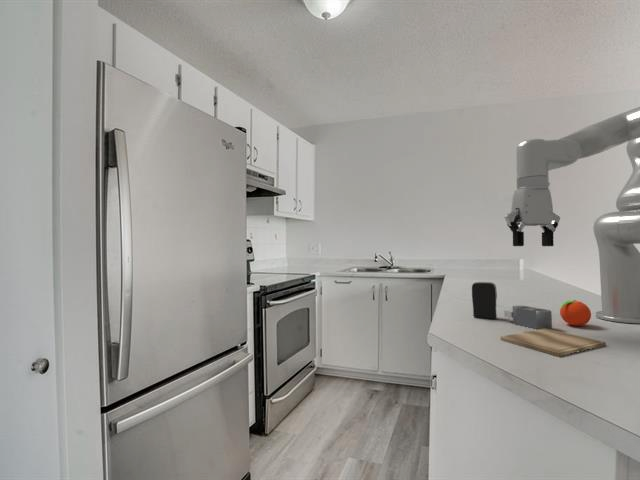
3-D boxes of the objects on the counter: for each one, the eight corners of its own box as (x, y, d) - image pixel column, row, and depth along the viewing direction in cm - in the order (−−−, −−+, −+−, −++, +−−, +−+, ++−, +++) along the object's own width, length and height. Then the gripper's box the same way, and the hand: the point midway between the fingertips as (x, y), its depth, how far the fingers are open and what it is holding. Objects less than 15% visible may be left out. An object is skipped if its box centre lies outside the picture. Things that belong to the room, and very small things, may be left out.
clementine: (572, 329, 89) (571, 303, 89) (551, 323, 95) (549, 299, 95) (598, 327, 90) (597, 301, 90) (575, 321, 96) (574, 297, 96)
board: (544, 331, 88) (544, 327, 88) (606, 345, 75) (605, 341, 75) (500, 339, 82) (500, 336, 82) (558, 356, 69) (558, 352, 69)
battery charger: (498, 317, 105) (497, 281, 105) (496, 320, 102) (495, 283, 102) (475, 315, 109) (473, 280, 110) (472, 317, 106) (470, 282, 106)
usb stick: (556, 329, 89) (555, 311, 90) (544, 331, 88) (544, 312, 88) (513, 320, 101) (512, 303, 101) (502, 322, 100) (502, 305, 100)
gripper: (546, 188, 98) (547, 246, 98) (495, 186, 95) (496, 246, 94) (570, 184, 91) (571, 246, 91) (516, 181, 87) (517, 246, 87)
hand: (533, 246), depth 93 cm, fingers open, 9 cm apart
